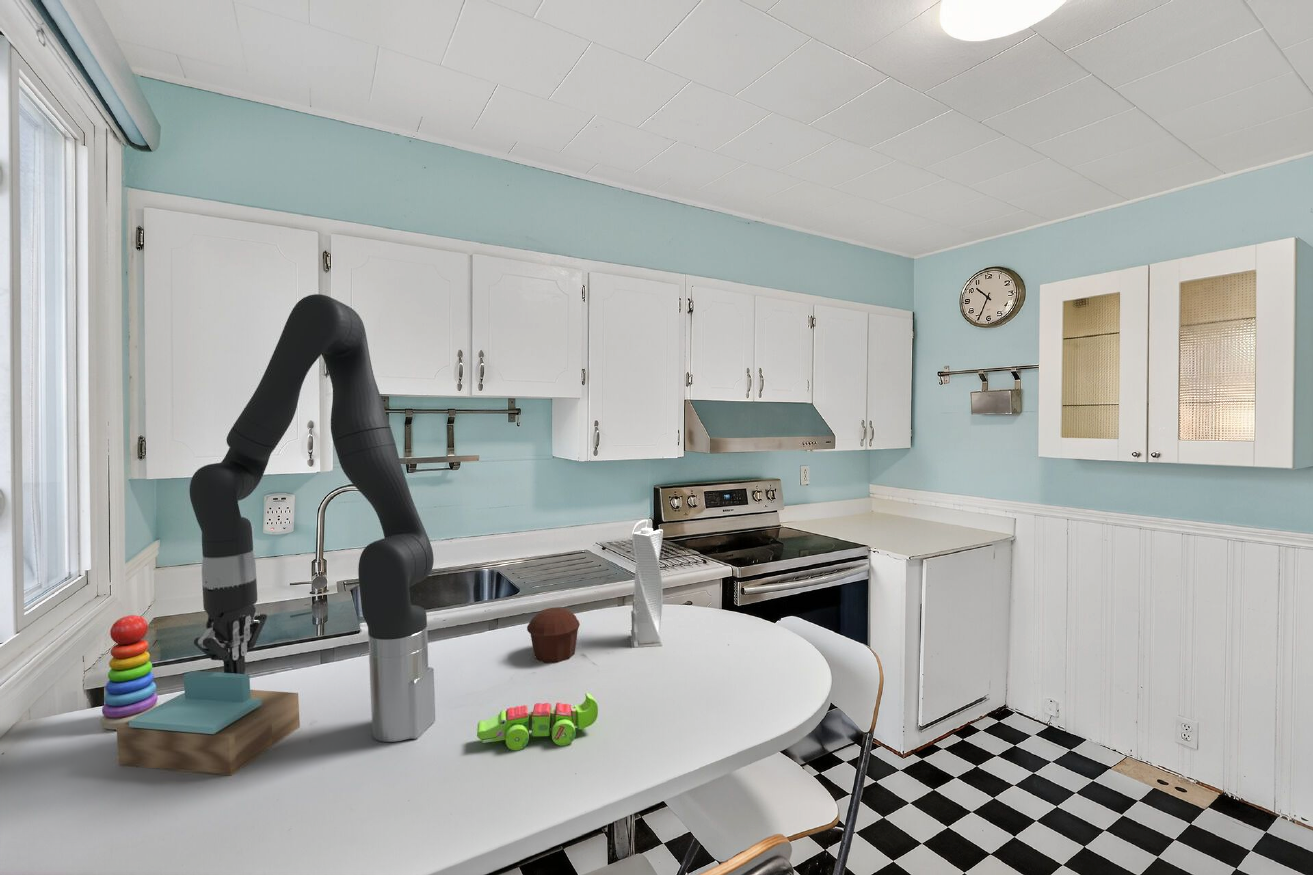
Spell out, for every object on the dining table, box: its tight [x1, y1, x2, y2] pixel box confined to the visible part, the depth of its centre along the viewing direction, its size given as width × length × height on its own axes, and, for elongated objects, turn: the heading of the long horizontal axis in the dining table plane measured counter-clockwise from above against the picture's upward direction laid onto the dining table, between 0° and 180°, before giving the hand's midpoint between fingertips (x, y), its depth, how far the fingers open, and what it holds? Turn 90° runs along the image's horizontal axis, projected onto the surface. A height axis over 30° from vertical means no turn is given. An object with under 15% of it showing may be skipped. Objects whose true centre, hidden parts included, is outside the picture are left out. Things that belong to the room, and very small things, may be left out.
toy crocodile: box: [476, 692, 599, 751], centre depth 101 cm, size 20×7×6 cm, turn 100°
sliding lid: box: [129, 670, 262, 734], centre depth 97 cm, size 15×9×5 cm, turn 81°
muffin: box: [526, 606, 581, 664], centre depth 134 cm, size 12×11×10 cm
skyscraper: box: [629, 519, 664, 649], centre depth 141 cm, size 8×8×28 cm
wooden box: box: [115, 689, 301, 777], centre depth 100 cm, size 20×14×6 cm
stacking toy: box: [100, 614, 160, 730], centre depth 108 cm, size 8×8×19 cm
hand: (235, 678), depth 104 cm, fingers closed
